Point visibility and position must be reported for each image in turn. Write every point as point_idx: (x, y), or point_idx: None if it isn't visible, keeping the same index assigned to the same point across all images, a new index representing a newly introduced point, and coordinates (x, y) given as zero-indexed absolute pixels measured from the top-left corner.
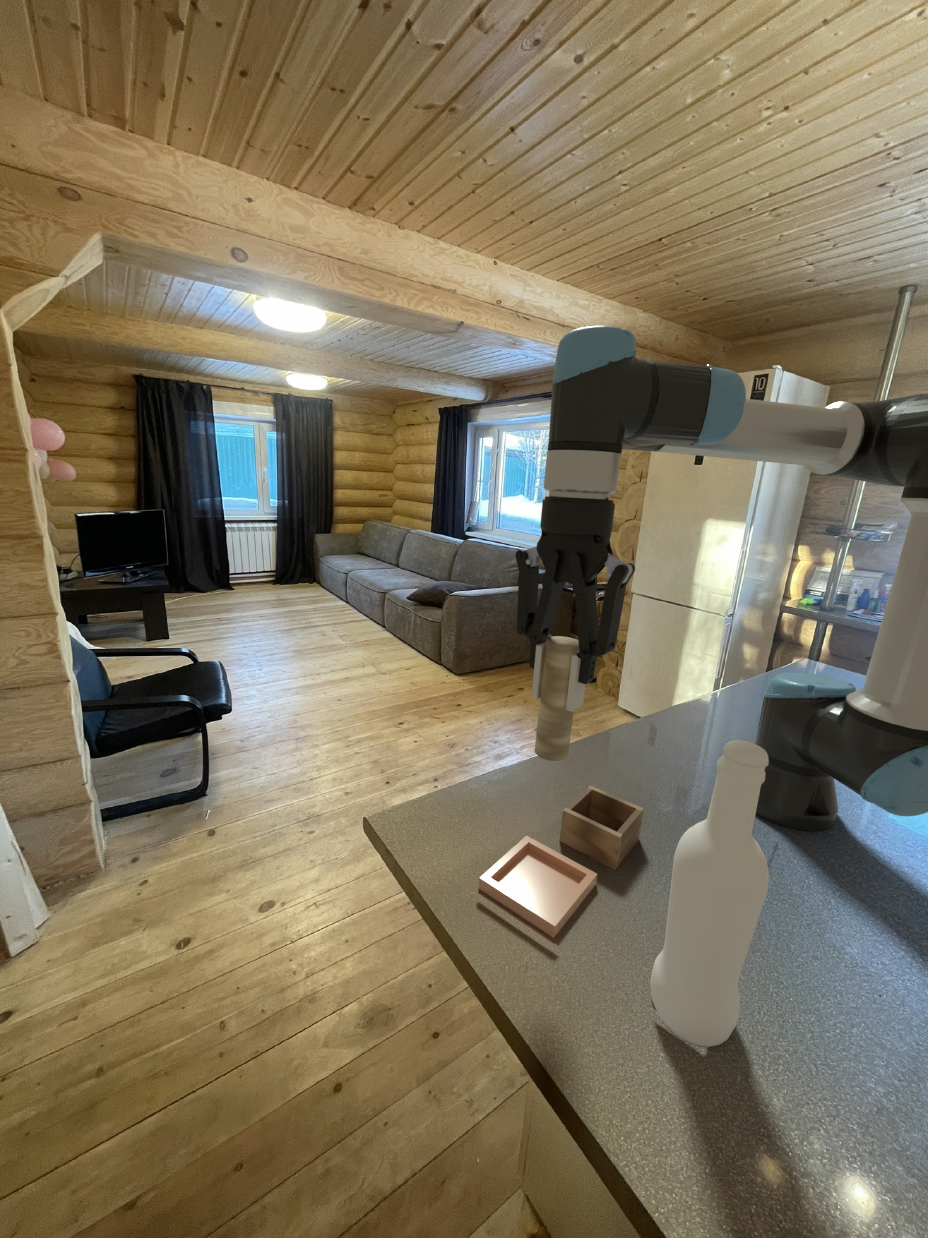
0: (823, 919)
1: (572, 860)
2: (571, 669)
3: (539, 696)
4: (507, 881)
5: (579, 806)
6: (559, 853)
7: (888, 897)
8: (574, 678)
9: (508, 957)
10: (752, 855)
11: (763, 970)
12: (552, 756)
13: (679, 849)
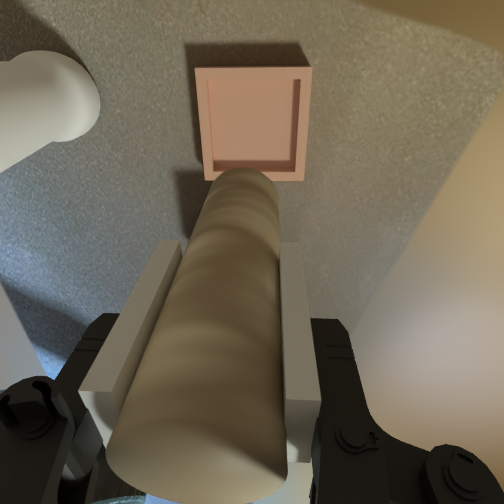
0: (55, 272)
1: None
2: (132, 336)
3: (279, 257)
4: (285, 100)
5: None
6: None
7: (39, 323)
8: (126, 310)
9: (225, 4)
10: None
11: (54, 186)
12: (222, 176)
13: None
